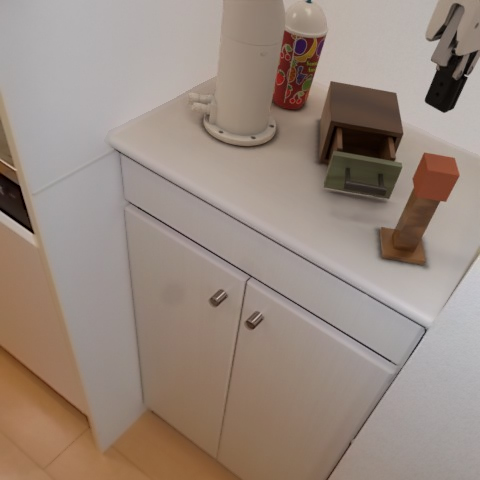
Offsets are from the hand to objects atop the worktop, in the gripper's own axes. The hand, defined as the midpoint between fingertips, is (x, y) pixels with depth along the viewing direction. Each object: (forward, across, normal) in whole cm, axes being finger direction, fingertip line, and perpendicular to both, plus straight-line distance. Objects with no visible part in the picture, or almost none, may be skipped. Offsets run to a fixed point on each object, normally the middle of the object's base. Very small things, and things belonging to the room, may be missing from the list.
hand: (438, 105), depth 62 cm
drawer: (+19, -5, -10) cm, 22 cm away
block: (+10, +1, +4) cm, 10 cm away
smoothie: (+20, -15, -35) cm, 43 cm away
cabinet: (+20, -14, -18) cm, 30 cm away
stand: (+20, +1, +4) cm, 20 cm away
